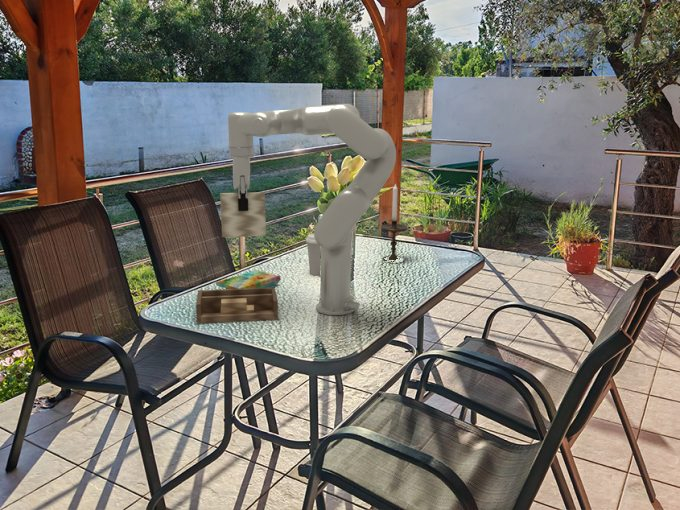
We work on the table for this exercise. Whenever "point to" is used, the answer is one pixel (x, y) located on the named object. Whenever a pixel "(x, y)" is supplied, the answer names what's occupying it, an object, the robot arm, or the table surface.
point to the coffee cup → (313, 255)
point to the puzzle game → (250, 280)
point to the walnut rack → (259, 297)
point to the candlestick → (393, 225)
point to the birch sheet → (243, 215)
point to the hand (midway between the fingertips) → (243, 210)
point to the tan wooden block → (236, 306)
